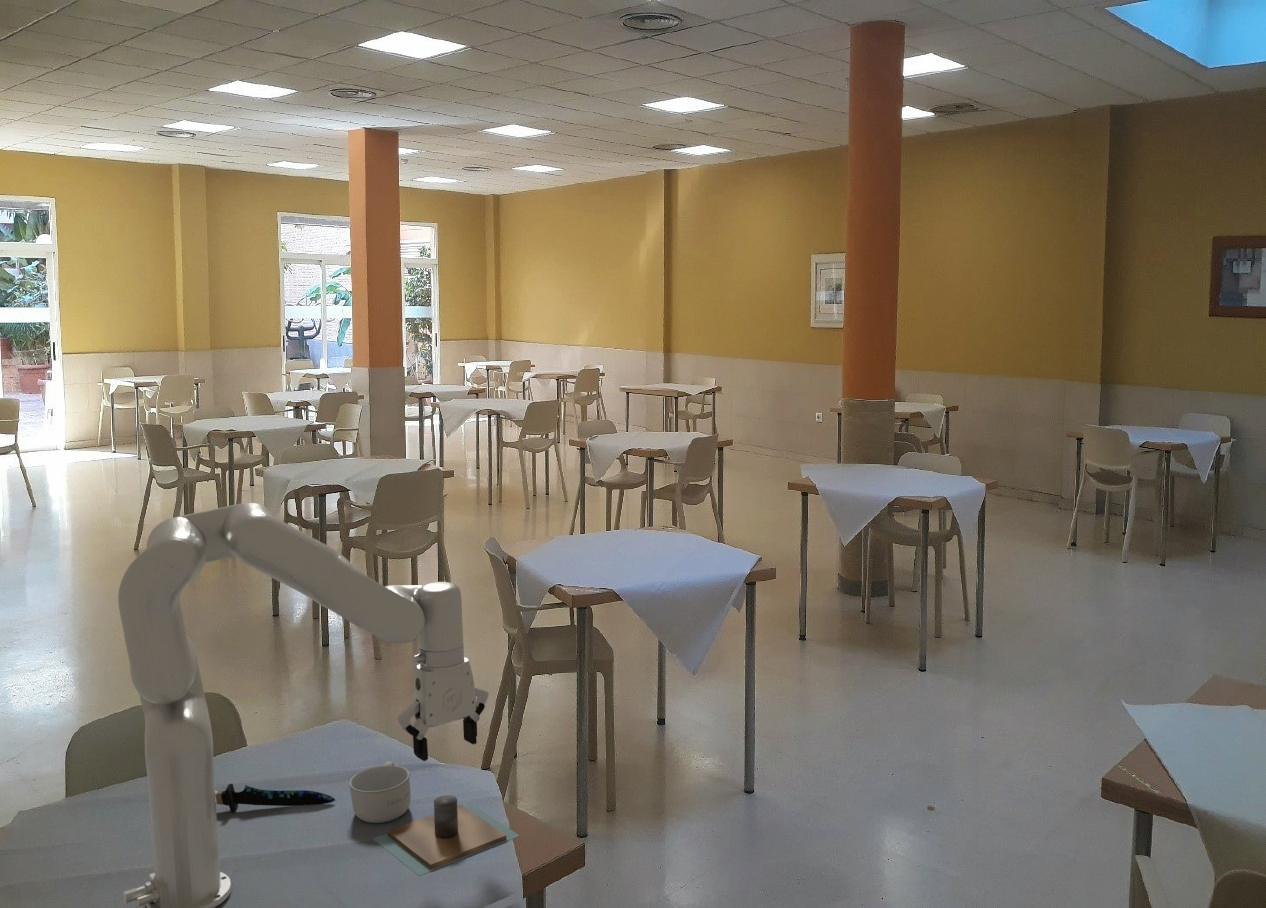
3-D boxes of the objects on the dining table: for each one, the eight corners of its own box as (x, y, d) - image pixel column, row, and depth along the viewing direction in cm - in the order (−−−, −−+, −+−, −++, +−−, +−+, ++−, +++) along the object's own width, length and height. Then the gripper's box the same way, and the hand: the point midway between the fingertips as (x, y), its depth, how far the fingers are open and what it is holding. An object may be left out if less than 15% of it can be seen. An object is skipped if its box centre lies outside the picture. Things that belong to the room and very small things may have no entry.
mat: (419, 881, 175) (419, 875, 175) (373, 844, 187) (373, 838, 187) (520, 841, 188) (519, 835, 188) (470, 808, 200) (470, 803, 200)
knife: (163, 809, 198) (164, 786, 197) (169, 801, 201) (170, 778, 200) (331, 820, 200) (332, 797, 200) (334, 812, 203) (336, 790, 203)
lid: (430, 869, 177) (429, 830, 176) (387, 835, 189) (385, 798, 188) (506, 839, 187) (505, 802, 186) (460, 808, 198) (459, 774, 197)
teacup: (396, 834, 191) (395, 792, 190) (340, 828, 193) (338, 786, 192) (426, 799, 204) (425, 759, 203) (373, 794, 207) (372, 754, 205)
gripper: (407, 673, 175) (412, 772, 177) (496, 648, 186) (500, 742, 188) (385, 661, 180) (390, 758, 183) (473, 638, 191) (477, 729, 194)
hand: (446, 750), depth 186 cm, fingers open, 9 cm apart
